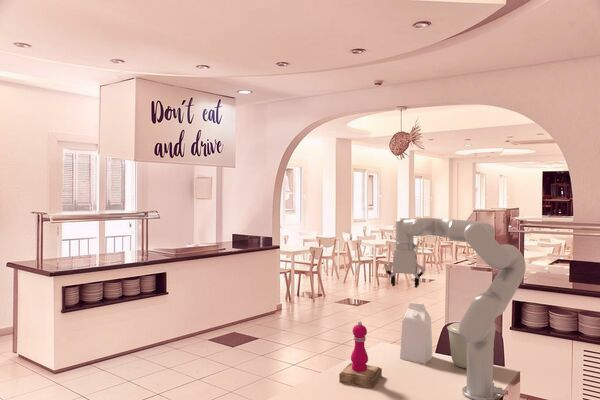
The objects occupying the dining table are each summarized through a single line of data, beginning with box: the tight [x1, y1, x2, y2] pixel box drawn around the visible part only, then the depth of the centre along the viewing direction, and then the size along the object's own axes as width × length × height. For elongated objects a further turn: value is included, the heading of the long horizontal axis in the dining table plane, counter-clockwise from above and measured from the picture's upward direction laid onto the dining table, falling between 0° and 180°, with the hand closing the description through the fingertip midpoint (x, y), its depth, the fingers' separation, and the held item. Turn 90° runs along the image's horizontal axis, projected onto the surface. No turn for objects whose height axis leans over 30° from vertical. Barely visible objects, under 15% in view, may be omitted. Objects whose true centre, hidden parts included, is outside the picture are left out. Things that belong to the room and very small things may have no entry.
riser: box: [338, 362, 383, 389], centre depth 195 cm, size 14×14×4 cm
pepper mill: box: [350, 320, 369, 372], centre depth 195 cm, size 7×7×20 cm
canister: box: [446, 322, 467, 370], centre depth 212 cm, size 18×18×21 cm
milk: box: [399, 301, 433, 365], centre depth 222 cm, size 12×12×26 cm
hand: (404, 286), depth 201 cm, fingers open, 9 cm apart
